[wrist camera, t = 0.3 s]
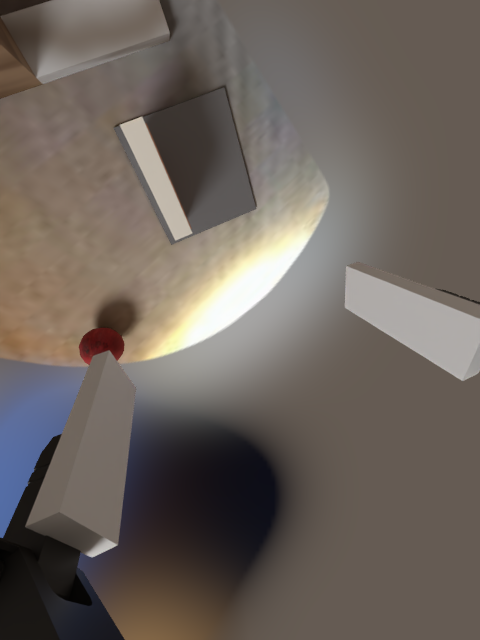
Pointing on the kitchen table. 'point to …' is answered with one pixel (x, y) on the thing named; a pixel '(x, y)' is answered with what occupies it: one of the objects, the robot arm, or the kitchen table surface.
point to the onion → (101, 343)
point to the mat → (199, 161)
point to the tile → (156, 176)
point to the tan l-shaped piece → (73, 38)
